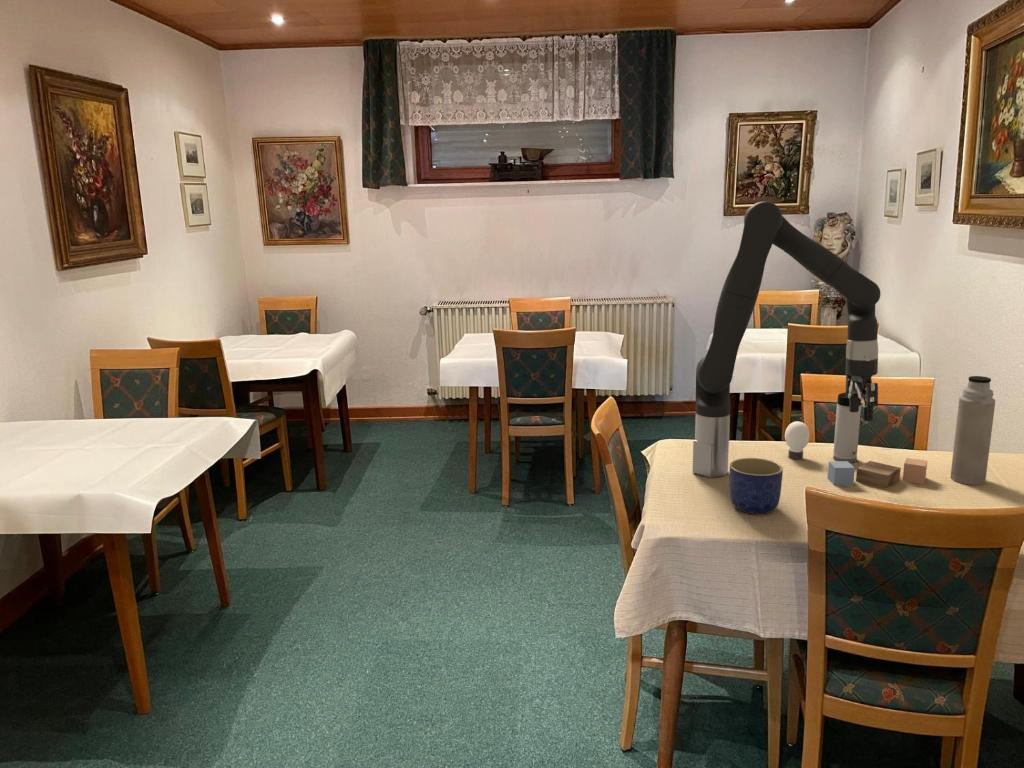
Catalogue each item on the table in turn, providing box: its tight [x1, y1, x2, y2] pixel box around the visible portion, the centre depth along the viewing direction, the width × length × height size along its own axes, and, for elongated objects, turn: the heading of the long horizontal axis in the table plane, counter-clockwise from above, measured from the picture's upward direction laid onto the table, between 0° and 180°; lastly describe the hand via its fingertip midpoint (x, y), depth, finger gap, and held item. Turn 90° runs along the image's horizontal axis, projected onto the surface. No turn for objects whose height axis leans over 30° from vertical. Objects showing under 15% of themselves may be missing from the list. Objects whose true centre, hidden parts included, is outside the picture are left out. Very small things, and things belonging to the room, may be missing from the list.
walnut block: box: [855, 460, 902, 490], centre depth 197 cm, size 8×8×4 cm
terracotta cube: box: [902, 457, 928, 485], centre depth 197 cm, size 5×5×5 cm
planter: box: [729, 457, 784, 515], centre depth 182 cm, size 12×12×11 cm
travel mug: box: [832, 392, 862, 464], centre depth 212 cm, size 6×7×20 cm
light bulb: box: [784, 420, 811, 460], centre depth 216 cm, size 7×7×11 cm
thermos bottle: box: [949, 375, 996, 486], centre depth 192 cm, size 8×8×28 cm
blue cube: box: [827, 460, 856, 486], centre depth 197 cm, size 5×5×5 cm
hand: (860, 416), depth 194 cm, fingers open, 8 cm apart
